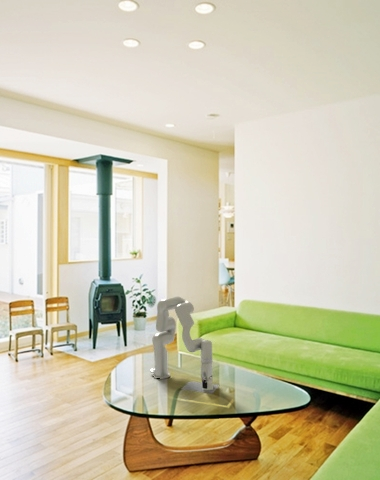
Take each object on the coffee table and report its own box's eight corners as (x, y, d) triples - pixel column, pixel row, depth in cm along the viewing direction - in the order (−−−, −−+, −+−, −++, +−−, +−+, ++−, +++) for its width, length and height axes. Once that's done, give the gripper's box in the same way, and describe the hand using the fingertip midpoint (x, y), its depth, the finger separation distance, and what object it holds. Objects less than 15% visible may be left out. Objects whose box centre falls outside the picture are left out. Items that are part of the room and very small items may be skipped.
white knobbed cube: (203, 390, 257) (202, 379, 257) (201, 386, 264) (201, 376, 264) (213, 389, 258) (212, 379, 258) (211, 385, 264) (211, 375, 264)
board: (180, 391, 260) (180, 389, 260) (189, 382, 274) (189, 381, 274) (212, 395, 251) (212, 393, 251) (219, 386, 265) (219, 385, 265)
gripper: (206, 355, 270) (206, 380, 270) (196, 363, 254) (197, 389, 254) (216, 356, 267) (217, 381, 267) (207, 364, 251) (208, 391, 251)
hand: (207, 385), depth 261 cm, fingers open, 9 cm apart
